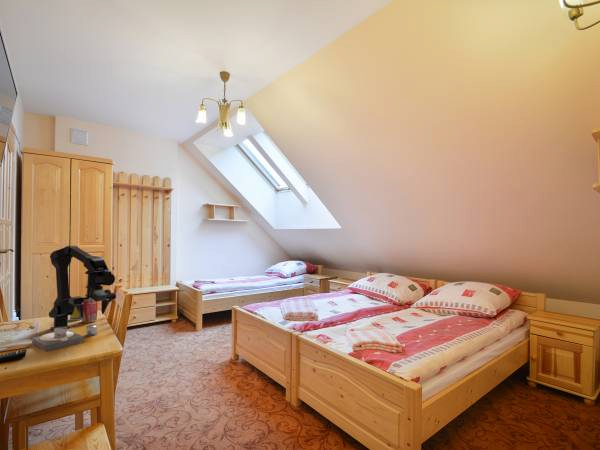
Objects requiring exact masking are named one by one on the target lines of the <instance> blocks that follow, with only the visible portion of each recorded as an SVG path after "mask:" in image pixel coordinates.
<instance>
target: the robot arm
mask: <svg viewBox="0 0 600 450" xmlns="http://www.w3.org/2000/svg"><path fill="white" fill-rule="evenodd" d="M49 257H50V262H51V265H52V266H53V267H54V269H55V277H56V293H57V297H56V299H55V300H54V302H53V307H52V309H51V310H50V311H49V312H48V317H49V318H51V319H53V326H51V327H50V329H51V330H53V331H54V328H56V327H62V326H66V327H67V329H69V328H71V326H70V325H68V324H69V323H68V322H69V321H68V320H69V316H70V315H73V312H74V309H75V307H76V308H77V310H78V312H79V315H80V317H81V318H83V306H84V304H82V303H83V302H84V301H90V300H94V301H96V302H101V309H100V310H101V314H102V315H104V314H105V312H106V310H107V308H108V306H109V304H110V303H111V302H113V301H114V300H116V299H117V294H116V293H115V292H111V289H110V288H108V289H103V286H108V287H109V286H112V285H113V284H114V283H115V281H116V276H115V274H113V273H112V272H113V271H112V270H109V267H108V265H107V263H106V261H105V259H104V258H103V257H101V256H97V255H92V254H90V253H89V252H86V251H85V250H83V249H81V248H79V246H77V245H67V246H64V247H62V248H60V249H56V250H53V251H52V252H51V253H50V256H49ZM72 258H74V259H76V260H78V261H79V262H81V263H82V264H83V267H84V268H85V269H86V271H85V272H84V274H85V275H87V281H86V285H85V288H86V293H85V294H84V295H85V296H79V295H77V296H71V295H70V283H69V282H70V279H69V266H70V264H71V263H72Z"/></svg>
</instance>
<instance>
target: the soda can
mask: <svg viewBox="0 0 600 450" xmlns="http://www.w3.org/2000/svg"><path fill="white" fill-rule="evenodd" d="M98 302H99V301H98ZM98 302H96V301H94V300H90V301H84V302H83V304H84V306H83V318H82V319H81V322H83V323H84V324H89V323H90V322H91V323H94V322H95V321H97V320H98V319H97V318H98V304H99V303H98Z"/></svg>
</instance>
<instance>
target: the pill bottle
mask: <svg viewBox="0 0 600 450" xmlns="http://www.w3.org/2000/svg"><path fill="white" fill-rule="evenodd" d="M82 304H83V303H82ZM69 320H70V321H79V320H81V321H82V318H81V317H80V315H79V312H78V310H77V308H76V307H75V309H74V312H73V315H69Z"/></svg>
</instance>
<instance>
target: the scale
mask: <svg viewBox="0 0 600 450" xmlns="http://www.w3.org/2000/svg"><path fill="white" fill-rule="evenodd" d="M84 339H85V337H84V335H82V334H79V333H77V332H75V331H72V330H68V329H67V333H66V337H64V338H59V339H55V338H54V331H53V332H49V333H45V334H43V335H39V336H35V337H32V339H31V344H32V345H33V346H35V347H37V348H38V349H40V350H42V351H43V352H49V351H50V352H51V351H53V350H57V349H62V348H66V347H69V346H74V345H78V344H82V343H84V341H85V340H84Z"/></svg>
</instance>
